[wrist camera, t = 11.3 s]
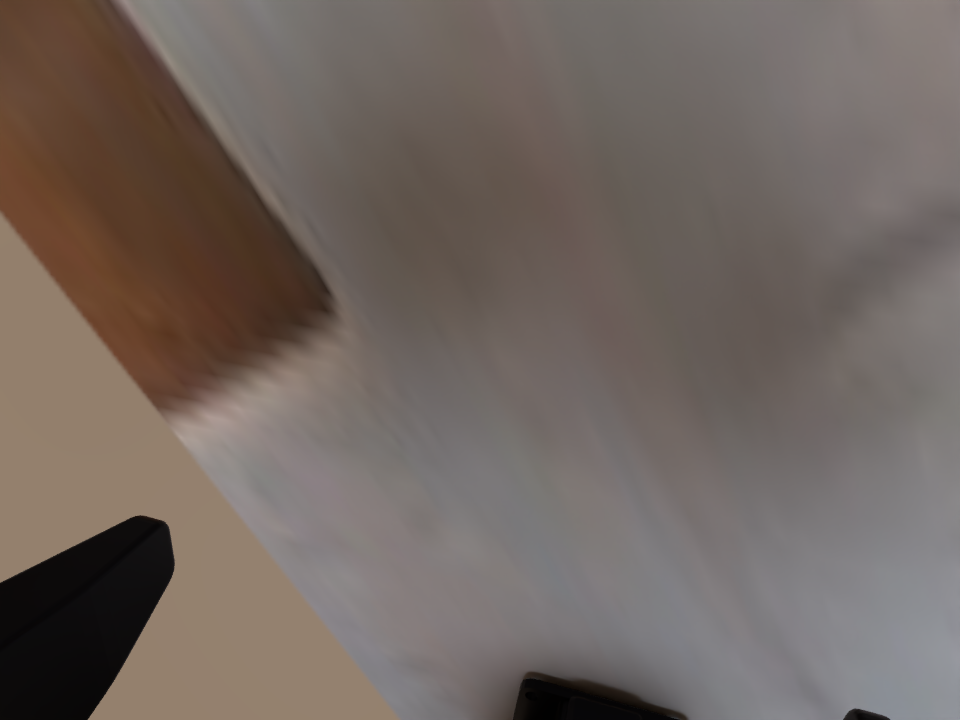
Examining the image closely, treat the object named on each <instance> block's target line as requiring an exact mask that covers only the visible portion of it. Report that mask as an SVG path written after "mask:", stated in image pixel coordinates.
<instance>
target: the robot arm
mask: <svg viewBox="0 0 960 720" xmlns="http://www.w3.org/2000/svg"><path fill="white" fill-rule="evenodd" d="M174 566H175V562H174V555H173V548H172V542H171V536H170V530H169V527H168V525H167V524H166V522H164V521H162V520H158V519H154V518H150V517H147V516H141V515H140V516H135V517H132V518H130V519H128V520H126V521H124V522H121V523H119V524H117V525H116V526H113V527H111V528H110V529H108V530H106V531H104V532H101V533H99V534H97V535H95V536H94V537H92V538H89V539H88V540H85V541H83V542H81V543H79V544H77V545H76V546H73V547H71V548H69V549H67V550H65V551H63V552H61V553H59V554H57V555H55V556H53V557H51V558H49V559H47V560H45V561H43V562H41V563H39V564H37V565H35V566H33V567H31V568H29V569H27V570H25V571H23V572H21V573H19V574H17V575H15V576H13V577H11V578H9V579H7V580H5V581H3V582H1V583H0V720H88V718H89V717H90V715H91V714H92V713H93V711H94V710H95V708H96V707H97V705H98V704H99V702H100V701H101V700H102V698H103V697H104V695H105V694H106V692H107V691H108V689H109V688H110V686H111V685H112V683H113V682H114V680H115V678H116V676H117V675H118V673H119V671H120V670H121V668H122V666H123V665H124V663H125V661H126V659H127V658H128V656H129V654H130V652H131V650H132V649H133V647H134V645H135V643H136V641H137V640H138V638H139V636H140V634H141V632H142V631H143V629H144V627H145V625H146V623H147V621H148V620H149V618H150V616H151V614H152V613H153V611H154V609H155V607H156V605H157V604H158V602H159V600H160V598H161V596H162V595H163V593H164V591H165V589H166V587H167V586H168V584H169V582H170V579H171V578H172V575H173V572H174ZM513 720H678V719H675V718H671V717H668V716H664V715H661V714H657V713H653V712H650V711H646V710H643V709H639V708H636V707H632V706H629V705H625V704H622V703H618V702H615V701H611V700H607V699H604V698H600V697H597V696H593V695H590V694H586V693H583V692H579V691H576V690H572V689H569V688H565V687H561V686H558V685H554V684H551V683H547V682H544V681H540V680H537V679H531V678H530V679H525V680H523V681H522V683H521V686H520V690H519V695H518V699H517V704H516V708H515V713H514V717H513ZM843 720H890V719H889V718H887V717H885V716H883V715H880V714H876V713H872V712H868V711H865V710H861V709H852V710H850V711H849V712H848V713H847V714H846V716H845V718H844V719H843Z"/></svg>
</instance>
